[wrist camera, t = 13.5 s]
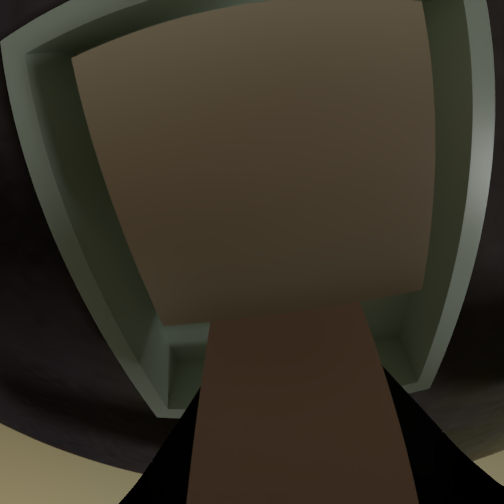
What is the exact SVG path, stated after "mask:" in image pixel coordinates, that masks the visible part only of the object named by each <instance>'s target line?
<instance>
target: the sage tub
mask: <svg viewBox="0 0 504 504" xmlns="http://www.w3.org/2000/svg"><path fill="white" fill-rule="evenodd" d="M263 1H271V0H70V1H68V2H66V3H64V4H62V5H60V6H58V7H56V8H54V9H52V10H51V11H49V12H47V13H45V14H43V15H41V16H40V17H38V18H36V19H35V20H33V21H31V22H29V23H28V24H26V25H25V26H23V27H21V28H20V29H18V30H17V31H15V32H13V33H12V34H10V35H9V36H7V37H6V38H4V39H3V40H1V41H0V44H1V52H2V59H3V66H4V72H5V78H6V83H7V89H8V94H9V99H10V103H11V108H12V112H13V116H14V121H15V125H16V129H17V132H18V136H19V140H20V143H21V147H22V150H23V154H24V157H25V160H26V164H27V167H28V170H29V173H30V176H31V179H32V182H33V185H34V188H35V191H36V194H37V196H38V199H39V202H40V205H41V207H42V210H43V212H44V215H45V218H46V220H47V223H48V225H49V228H50V230H51V232H52V235H53V237H54V240H55V242H56V244H57V246H58V249H59V251H60V253H61V255H62V258H63V260H64V262H65V264H66V266H67V268H68V271H69V273H70V275H71V277H72V279H73V281H74V283H75V285H76V287H77V289H78V291H79V293H80V295H81V297H82V299H83V301H84V302H85V304H86V306H87V308H88V310H89V312H90V314H91V315H92V317H93V319H94V321H95V323H96V324H97V326H98V328H99V330H100V331H101V333H102V335H103V337H104V338H105V340H106V342H107V343H108V345H109V347H110V348H111V350H112V352H113V353H114V355H115V356H116V358H117V360H118V361H119V363H120V364H121V366H122V367H123V369H124V371H125V372H126V374H127V375H128V377H129V378H130V380H131V381H132V383H133V384H134V386H135V387H136V389H137V390H138V391H139V393H140V394H141V396H142V397H143V399H144V400H145V401H146V403H147V404H148V406H149V407H150V408H151V410H152V411H153V412H154V414H155V415H156V416H157V418H181V416H182V415H183V413H184V411H185V410H186V408H187V407H188V405H189V404H190V402H191V401H192V399H193V397H194V396H195V394H196V393H197V391H198V390H199V388H200V387H201V382H202V375H203V368H204V361H205V354H206V348H207V341H208V334H209V328H210V322H206V323H195V324H184V325H173V326H163V324H162V322H161V320H160V318H159V316H158V313H157V311H156V309H155V307H154V305H153V303H152V300H151V298H150V296H149V294H148V291H147V289H146V287H145V285H144V282H143V280H142V278H141V275H140V273H139V270H138V268H137V266H136V263H135V261H134V258H133V256H132V254H131V251H130V249H129V246H128V244H127V241H126V238H125V236H124V233H123V231H122V228H121V225H120V223H119V220H118V217H117V215H116V212H115V209H114V206H113V204H112V201H111V198H110V195H109V192H108V189H107V186H106V183H105V180H104V177H103V174H102V171H101V168H100V165H99V162H98V159H97V156H96V152H95V149H94V146H93V142H92V139H91V136H90V132H89V129H88V125H87V121H86V118H85V114H84V110H83V106H82V102H81V99H80V95H79V90H78V86H77V82H76V78H75V73H74V69H73V64H72V59H71V58H73V57H75V56H77V55H79V54H81V53H83V52H86V51H88V50H90V49H92V48H95V47H97V46H99V45H102V44H104V43H107V42H109V41H112V40H114V39H117V38H120V37H122V36H125V35H128V34H130V33H133V32H136V31H139V30H142V29H145V28H148V27H151V26H154V25H157V24H161V23H164V22H167V21H171V20H175V19H178V18H182V17H186V16H190V15H194V14H198V13H202V12H206V11H211V10H216V9H221V8H226V7H231V6H237V5H243V4H249V3H256V2H263ZM415 1H422V5H423V10H424V16H425V22H426V28H427V34H428V41H429V49H430V57H431V66H432V77H433V89H434V107H435V179H434V197H433V210H432V221H431V231H430V240H429V248H428V256H427V263H426V270H425V276H424V282H423V288H422V290H419V291H414V292H409V293H404V294H399V295H394V296H389V297H383V298H378V299H372V300H367V301H361V302H360V303H361V306H362V309H363V312H364V314H365V317H366V320H367V323H368V326H369V328H370V331H371V334H372V337H373V340H374V343H375V346H376V349H377V352H378V355H379V358H380V361H381V364H382V366H383V367H384V368H385V369H386V370H387V371H388V372H389V373H390V374H391V375H392V376H393V377H394V379H395V380H396V381H397V382H398V383H399V384H400V385H401V386H402V387H403V388H404V389H405V390H406V392H407V393H408V394H409V393H413V392H417V391H421V390H425V389H429V388H430V387H431V384H432V382H433V380H434V378H435V376H436V373H437V371H438V369H439V366H440V364H441V362H442V359H443V357H444V354H445V352H446V349H447V347H448V344H449V342H450V339H451V336H452V334H453V331H454V328H455V325H456V322H457V319H458V317H459V314H460V311H461V307H462V304H463V301H464V298H465V295H466V291H467V288H468V285H469V281H470V277H471V274H472V270H473V266H474V262H475V258H476V254H477V250H478V246H479V241H480V237H481V232H482V227H483V222H484V216H485V211H486V205H487V198H488V191H489V184H490V176H491V167H492V157H493V145H494V127H495V76H494V59H493V47H492V37H491V29H490V21H489V15H488V9H487V3H486V0H415Z"/></svg>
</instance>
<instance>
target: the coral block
mask: <svg viewBox="0 0 504 504" xmlns="http://www.w3.org/2000/svg"><path fill="white" fill-rule="evenodd" d="M186 504H419V502H418V497H417V492H416V488H415V483H414V479H413V475H412V470H411V466H410V462H409V458H408V454H407V450H406V446H405V442H404V438H403V435H402V431H401V427H400V424H399V420H398V417H397V413H396V410H395V406H394V403H393V399H392V396H391V393H390V389H389V386H388V383H387V380H386V376H385V373H384V370H383V367H382V364H381V361H380V358H379V355H378V352H377V349H376V346H375V343H374V340H373V337H372V334H371V331H370V328H369V326H368V323H367V320H366V317H365V314H364V312H363V309H362V306H361V303H360V302H355V303H349V304H343V305H337V306H330V307H324V308H318V309H311V310H304V311H297V312H290V313H283V314H275V315H267V316H259V317H251V318H243V319H234V320H225V321H216V322H210V328H209V334H208V341H207V348H206V354H205V361H204V368H203V375H202V382H201V389H200V397H199V404H198V411H197V419H196V427H195V434H194V442H193V450H192V459H191V467H190V476H189V484H188V493H187V503H186Z"/></svg>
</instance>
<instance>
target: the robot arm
mask: <svg viewBox="0 0 504 504" xmlns="http://www.w3.org/2000/svg"><path fill="white" fill-rule="evenodd" d="M382 367H383V366H382ZM383 370H384V373H385V376H386V380H387V383H388V386H389V389H390V393H391V396H392V399H393V403H394V406H395V410H396V413H397V417H398V420H399V424H400V427H401V431H402V435H403V438H404V442H405V446H406V450H407V454H408V458H409V462H410V466H411V470H412V475H413V479H414V483H415V488H416V492H417V497H418V502H419V504H504V486H502V485H501V484H499V483H498V482H496V481H495V480H494V479H493V478H492V477H490V476H489V475H488V474H487V473H486V472H485V471H483V470H482V469H481V468H480V467H479V466H477V465H476V464H475V463H474V462H473V461H472V460H470V459H469V458H468V457H467V456H466V455H465V454H464V453H463V452H462V451H461V450H460V449H459V448H458V447H457V446H456V445H455V444H454V443H453V442H452V441H451V440H450V439H449V438H448V437H447V435H446V434H445V433H444V432H442V430H441V429H440V428H439V427H438V426H437V424H436V423H435V422H434V421H433V420H432V419H431V418H430V417H429V416H428V415H427V413H426V412H425V411H424V410H423V409H422V408H421V407H420V406H419V405H418V404H417V402H416V401H415V400H414V399H413V398H412V397H411V396H410V395H409V394H408V393H407V392H406V390H405V389H404V388H403V387H402V386H401V385H400V384H399V383H398V382H397V381H396V380H395V379H394V377H393V376H392V375H391V374H390V373H389V372H388V371H387V370H386V369H385V368H384V367H383ZM200 389H201V387H200V388H199V390H198V391H197V393H196V394H195V396H194V397H193V399H192V401H191V402H190V404H189V405H188V407H187V408H186V410H185V411H184V413H183V415H182V416H181V418H180V419H179V421H178V422H177V424H176V425H175V427H174V428H173V430H172V431H171V433H170V434H169V436H168V438H167V439H166V441H165V442H164V444H163V445H162V447H161V448H160V450H159V451H158V453H157V454H156V456H155V457H154V459H153V460H152V461H153V462H151V463H150V464H149V466H148V468H147V469H146V471H145V472H144V473H143V475H142V476H141V478H140V479H139V480H138V482H137V483H136V484H135V486H134V487H133V488H132V489H131V490H130V491H129V493H128V494H127V495H126V496H125V497H124V499H123V500H122V501H121V502H120V503H119V504H186V503H187V493H188V484H189V476H190V467H191V459H192V450H193V442H194V434H195V427H196V419H197V411H198V404H199V397H200Z"/></svg>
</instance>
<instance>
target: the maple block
mask: <svg viewBox="0 0 504 504" xmlns="http://www.w3.org/2000/svg"><path fill="white" fill-rule="evenodd" d="M71 59H72V64H73V69H74V73H75V78H76V82H77V86H78V90H79V95H80V99H81V102H82V106H83V110H84V114H85V118H86V121H87V125H88V129H89V132H90V136H91V139H92V142H93V146H94V149H95V152H96V156H97V159H98V162H99V165H100V168H101V171H102V174H103V177H104V180H105V183H106V186H107V189H108V192H109V195H110V198H111V201H112V204H113V206H114V209H115V212H116V215H117V217H118V220H119V223H120V225H121V228H122V231H123V233H124V236H125V238H126V241H127V244H128V246H129V249H130V251H131V254H132V256H133V258H134V261H135V263H136V266H137V268H138V270H139V273H140V275H141V278H142V280H143V282H144V285H145V287H146V289H147V291H148V294H149V296H150V298H151V300H152V303H153V305H154V307H155V309H156V311H157V313H158V316H159V318H160V320H161V322H162V324H163V326H173V325H184V324H195V323H206V322H216V321H225V320H234V319H243V318H251V317H259V316H267V315H275V314H283V313H290V312H297V311H304V310H311V309H318V308H324V307H330V306H337V305H343V304H349V303H355V302H361V301H367V300H372V299H378V298H383V297H389V296H394V295H399V294H404V293H409V292H414V291H419V290H422V288H423V282H424V276H425V270H426V263H427V256H428V248H429V240H430V231H431V221H432V210H433V197H434V179H435V107H434V89H433V77H432V66H431V57H430V49H429V41H428V34H427V28H426V22H425V16H424V10H423V5H422V1H415V0H271V1H263V2H256V3H249V4H243V5H237V6H231V7H226V8H221V9H216V10H211V11H206V12H202V13H198V14H194V15H190V16H186V17H182V18H178V19H175V20H171V21H167V22H164V23H161V24H157V25H154V26H151V27H148V28H145V29H142V30H139V31H136V32H133V33H130V34H128V35H125V36H122V37H120V38H117V39H114V40H112V41H109V42H107V43H104V44H102V45H99V46H97V47H95V48H92V49H90V50H88V51H86V52H83V53H81V54H79V55H77V56H75V57H73V58H71Z"/></svg>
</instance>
